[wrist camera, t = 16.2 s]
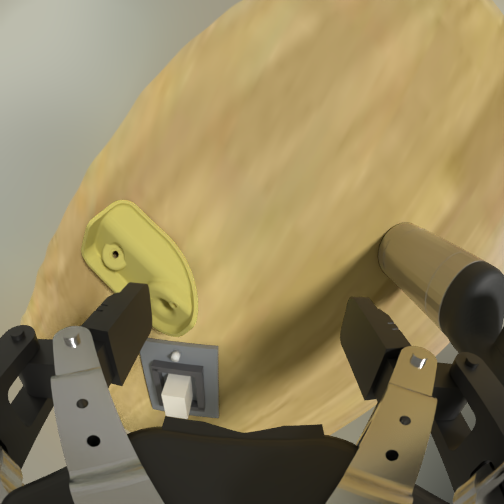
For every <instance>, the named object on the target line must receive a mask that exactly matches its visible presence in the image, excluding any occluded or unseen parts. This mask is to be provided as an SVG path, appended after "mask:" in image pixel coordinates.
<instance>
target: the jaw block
mask: <svg viewBox="0 0 504 504" xmlns="http://www.w3.org/2000/svg"><path fill="white" fill-rule="evenodd" d="M161 396H162V400H163V405H164V409H165V414H166V416H171V417H177V418H183V419H188V416H189V411H190V407H191V402H192V398H193V392H192V382H191V376H184V375H176V374H168V377H167V380H166V383H165V385H164V388H163V391H162V394H161Z"/></svg>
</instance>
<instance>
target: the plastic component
mask: <svg viewBox="0 0 504 504" xmlns="http://www.w3.org/2000/svg"><path fill="white" fill-rule="evenodd" d="M114 251H117V252H118V254H119V256H118V258H114V257H113V252H114ZM81 252H82V256H83V258H84V260H85V262H86V263H87V265H88V266H89V267H90V268H91V269H92V270H93V271H94V272H95V273H96V274H97V275H98V276H99V277H100V278H101V279H102V280H103V282H104V283H105V284H106V285H107V286H108V287H109V288H110V289H112V290H113V291H114V292H115V293H117V292H119V293H120V292H121V290H122V289H123V288H124V287H125V286H126V285H127V284H128V283H129V282H134V283H144V284H148V286H149V291H150V301H151V310H152V327H154V328H155V329H157V330H158V331H160V332H162V333H164V334H166V335H169V336H173V337H180V336H182V335H184V334H185V333H187V332H188V331H189V330H191V329H192V328H193V327H194V325H195V323H196V320H197V314H198V297H197V290H196V285H195V281H194V277H193V275H192V272H191V269H190V267H189V265H188V262H187V260H186V258H185V257H184V255H183V254H182V252H181V250H180V249H179V248H178V246H177V245H176V244H175V243H174V241H173V240H172V239H171V238H170V237H169V236H168V235H167V234H166V233H165V232H164V231H163V230H162V229H161V228H160V227H158V226H157V225H156V224H155V223H154V222H153V221H152V220H151V219H150V218H149V217H148V216H147V215H146V214H145V213H144V212H143V211H142V210H141V209H140V208H139V207H138V206H137V205H136V204H135V203H133V202H131V201H127V200H118V201H115V202H113V203H112V204H111V205H109V206H108V207H107V208H105V209H104V210H103V211H101V212H100V213H99V214H98V215H96V216H95V217H94V218H93V219H92V220H90V222H89V223H88V225H87V226H86V230H85V234H84V238H83V243H82V247H81Z"/></svg>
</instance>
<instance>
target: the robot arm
mask: <svg viewBox="0 0 504 504" xmlns="http://www.w3.org/2000/svg"><path fill="white" fill-rule="evenodd" d="M378 258H379V264H380V267H381V269H382V270H383V272H384V273H385V274H386V275H387V276H388V277H389V278H390V279H391V280H392V281H393V282H394V283H395V284H396V285H397V286H398V287H399V288H400V289H401V290H402V291H403V292H404V293H405V294H406V295H407V296H408V297H409V298H410V299H411V300H412V301H413V302H414V303H415V304H416V305H417V306H418V307H419V308H420V309H421V310H422V311H423V312H424V313H425V314H426V315H427V316H428V317H429V318H430V319H431V320H432V321H433V322H434V323H435V324H436V325H437V326H438V328H439V329H440V330H441V331H442V332H443V333H444V334H445V335H446V336H447V337H448V339H449V341H450V342H451V344H452V345H453V347H454V348H455V349H456V350H457V351H458V353H459V354H458V355H457V356H456V358H455V360H454V362H453V364H447V363H437V360H436V357H435V356H434V355H433V354H432V353H431V352H430V351H428V350H426V349H424V348H422V347H418V346H411V345H410V343H409V342H408V340H407V339H406V338H405V336H404V335H403V334H402V332H401V331H400V330H398V327H397V326H396V324H394V322H393V321H392V319H391V318H390V317H389V315H387V314H386V313H384V312H383V311H382V310H380V309H377V308H376V306H375V305H374V304H373V302H372V301H371V300H370V298H368V297H350V298H349V300H348V303H347V308H346V312H345V316H344V320H343V324H342V328H341V333H340V340H341V345H342V347H343V350H344V352H345V354H346V357H347V359H348V361H349V364H350V366H351V368H352V371H353V373H354V376H355V378H356V380H357V383H358V385H359V388H360V390H361V393H362V395H363V398H364V400H372V399H377V401H378V403H377V405H376V407H375V408H374V410H373V413H372V415H371V417H370V419H369V421H368V423H367V425H366V426H365V429H364V431H363V432H362V434H361V436H360V438H359V440H358V441H357V443H356V445H355V444H353V443H351V442H349V441H346V440H343V439H340V438H337V437H333V436H329V435H324V431H323V427H322V424H320V425H300V426H281V427H277V428H271V429H266V430H261V431H255V432H248V433H241V432H237V431H233V430H229V429H226V428H222V427H219V426H216V425H212V424H209V423H206V422H202V421H193V420H186V419H179V418H173V417H167V416H165V419H164V423H163V426H162V427H151V428H145V429H140V430H137V431H134V432H131V433H129V434H126V432H125V430H124V427H123V425H122V422H121V420H120V418H119V415H118V413H117V410H116V408H115V405H114V403H113V400H112V398H111V395H110V392H109V390H108V388H109V386H110V384H111V383H112V384H116V385H120V386H123V384H124V382H125V380H126V378H127V376H128V374H129V372H130V370H131V368H132V366H133V364H134V362H135V360H136V358H137V356H138V355H139V353H140V351H141V349H142V347H143V345H144V343H145V341H146V340H147V338H148V336H149V334H150V332H151V329H152V310H151V301H150V291H149V286H148V284H144V283H134V282H129V283H128V284H127V285H126V286H125V287H124V288H123V289H122V290H121V292H120V293H119V292H117V293H115V294H113V295H111V296H109V297H107V298H106V299H105V301H104V302H103V303H102V304H101V305H100V306H99V307H98V308H97V309H96V311H94V312H93V313H92V315H91V316H90V317H89V318H88V319H87V320H86V321H85V322H84V323H83V324H82V326H70V327H66V328H64V329H62V330H60V331H58V332H57V333H56V334H55V336H54V338H53V340H51V339H37V337H36V334H35V331H34V329H33V328H32V327H30V326H27V325H20V326H16V327H13V328H11V329H10V330H8V331H7V332H6V333H5V334H4V335H3V336H2V337H1V338H0V504H450V503H448V502H446V501H444V500H442V499H440V498H438V497H437V496H435V495H433V494H432V493H430V492H428V491H426V490H425V489H423V488H421V487H420V486H418V485H416V484H415V483H416V480H417V477H418V474H419V471H420V468H421V465H422V462H423V459H424V455H425V451H426V448H427V445H428V441H429V437H430V433H431V434H432V437H433V439H434V441H435V444H436V446H437V448H438V451H439V453H440V456H441V458H442V460H443V463H444V466H445V468H446V471H447V473H448V476H449V479H450V481H451V484H452V487H453V490H454V492H455V494H454V498H453V504H504V327H503V329H502V324H503V318H504V275H503V274H502V272H501V271H500V270H499V269H497V268H496V267H494V266H492V265H491V264H489V263H487V262H486V261H484V260H482V259H480V258H479V257H477V256H475V255H473V254H471V253H469V252H467V251H466V250H464V249H462V248H460V247H458V246H456V245H454V244H453V243H451V242H449V241H447V240H445V239H443V238H441V237H439V236H437V235H435V234H433V233H431V232H429V231H427V230H425V229H423V228H421V227H419V226H417V225H414V224H412V223H401V224H398V225H396V226H394V227H393V228H391V229H390V230H389V231H388V232H387V233H386V235H385V236H384V237H383V239H382V242H381V244H380V247H379V253H378ZM18 376H19V378H20V380H21V382H22V384H23V387H22V389H21V390H20V391H19V393H18V394H17V396H16V397H15V399H14V400H13V401H12V403H11V404H10V403H9V400H8V390H9V388H10V386H11V385H12V384H13V382H14V381H15V380H16V378H17V377H18ZM467 402H468V404H469V405H470V407H471V409H472V410H473V412H474V414H475V416H476V424H475V427H474V428H473V430H472V431H471V430H470V428H469V426H468V425H467V423H466V421H465V419H464V417H463V416H462V414H461V411H462V409H463V408H464V406H465V405H466V403H467ZM53 406H54V410H55V416H56V421H57V427H58V431H59V436H60V441H61V445H62V449H63V453H64V457H65V460H66V464H67V466H66V467H64V468H62V469H60V470H58V471H56V472H54V473H51V474H50V475H47V476H45V477H42V478H40V479H38V480H36V481H33V482H31V483H28V484H26V485H24V484H23V483H22V479H23V477H22V472H21V468H22V466H23V464H24V462H25V460H26V458H27V456H28V454H29V452H30V450H31V448H32V445H33V443H34V441H35V440H36V437H37V436H38V434H39V432H40V430H41V428H42V426H43V424H44V422H45V420H46V419H47V417H48V415H49V413H50V411H51V410H52V408H53Z"/></svg>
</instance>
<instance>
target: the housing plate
mask: <svg viewBox="0 0 504 504" xmlns="http://www.w3.org/2000/svg"><path fill="white" fill-rule="evenodd" d="M140 355H141V360H142V365H143V370H144V374H145V379H146V383H147V387H148V391H149V395H150V399H151V403H152V407H153V409H156V410H161V411H165V409H164V405H163V400H162V396H161V394H162V391H163V388H164V385H165V383H166V380H167V377H168V374H176V375H184V376H191V382H192V392H193V398H192V402H191V407H190V411H189V415H194V416H202V417H211V418H219V384H218V346H212V345H201V344H192V343H183V342H174V341H167V340H159V339H152V338H147V340H146V341H145V343H144V345H143V347H142V349H141V351H140Z"/></svg>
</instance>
